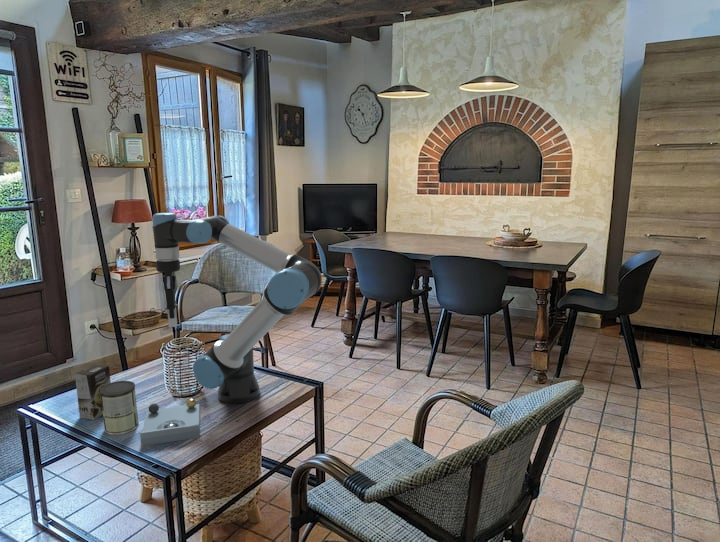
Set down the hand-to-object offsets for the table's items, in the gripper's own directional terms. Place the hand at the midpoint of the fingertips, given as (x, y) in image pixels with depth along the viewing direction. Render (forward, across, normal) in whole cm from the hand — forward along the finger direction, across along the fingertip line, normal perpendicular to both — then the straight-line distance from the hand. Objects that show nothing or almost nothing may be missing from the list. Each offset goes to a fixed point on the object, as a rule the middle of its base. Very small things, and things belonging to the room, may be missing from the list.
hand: (173, 326), depth 176 cm
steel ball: (+28, +20, -2) cm, 35 cm away
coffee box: (+30, -2, -27) cm, 40 cm away
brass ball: (+25, +9, +4) cm, 27 cm away
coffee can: (+30, +11, -17) cm, 36 cm away
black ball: (+25, +9, -8) cm, 28 cm away
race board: (+29, +16, -2) cm, 33 cm away
